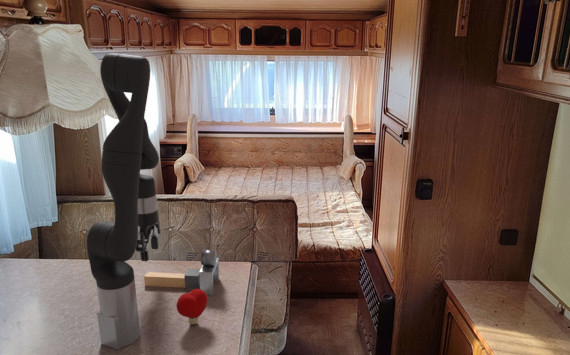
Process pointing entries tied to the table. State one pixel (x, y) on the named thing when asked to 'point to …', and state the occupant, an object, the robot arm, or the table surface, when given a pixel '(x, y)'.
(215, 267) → the housing
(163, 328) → the table surface
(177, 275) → the plug
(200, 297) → the red heart ornament
